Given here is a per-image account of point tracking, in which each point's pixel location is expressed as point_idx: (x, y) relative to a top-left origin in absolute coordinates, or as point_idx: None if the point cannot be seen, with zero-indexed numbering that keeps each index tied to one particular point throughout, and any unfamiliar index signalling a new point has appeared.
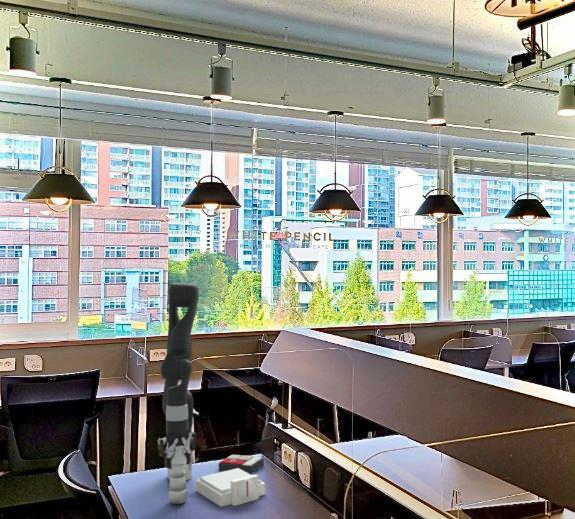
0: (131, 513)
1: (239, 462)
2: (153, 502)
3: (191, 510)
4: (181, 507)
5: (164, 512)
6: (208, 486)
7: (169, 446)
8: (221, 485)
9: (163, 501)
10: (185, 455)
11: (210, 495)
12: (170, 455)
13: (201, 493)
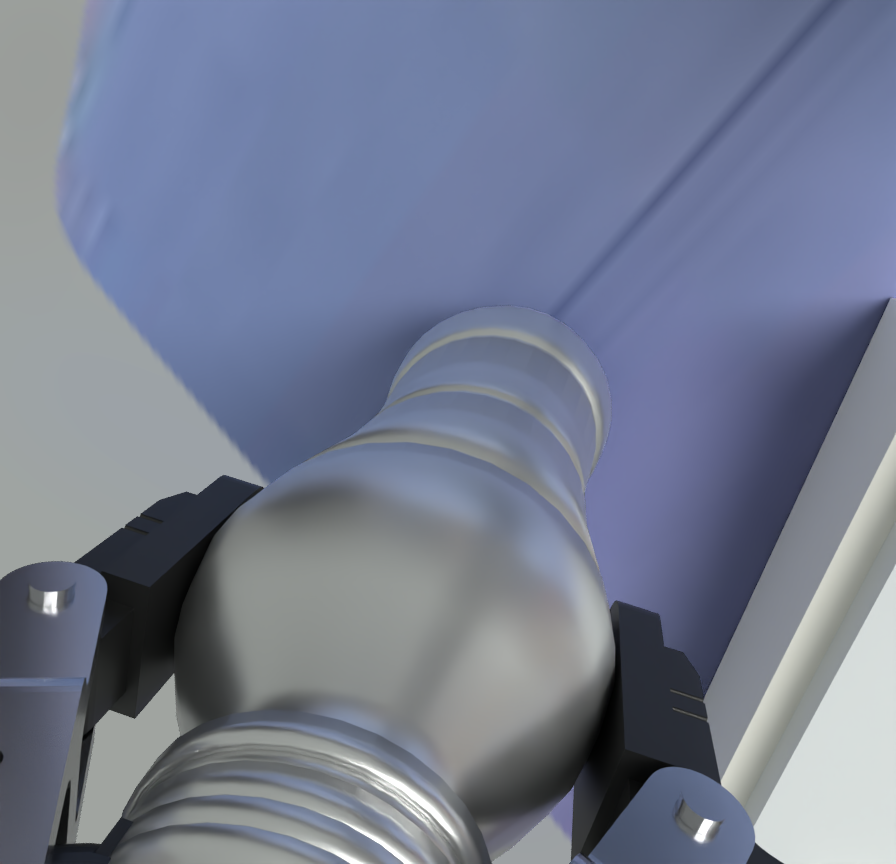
0: (73, 226)
1: None
2: (351, 169)
3: None
4: None
5: (288, 452)
6: (822, 615)
7: (15, 788)
8: (864, 790)
9: (436, 236)
10: (526, 832)
11: (757, 630)
12: (193, 641)
13: (836, 424)
